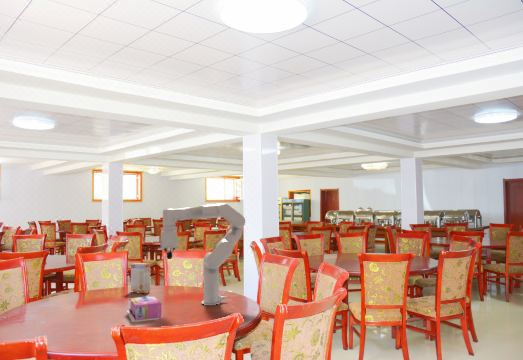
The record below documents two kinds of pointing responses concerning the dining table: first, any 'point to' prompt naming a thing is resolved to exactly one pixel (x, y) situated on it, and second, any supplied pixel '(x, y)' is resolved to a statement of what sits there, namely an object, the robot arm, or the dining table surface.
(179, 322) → the dining table surface
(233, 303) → the dining table surface
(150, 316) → the gum box
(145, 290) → the cracker box
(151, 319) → the mat
